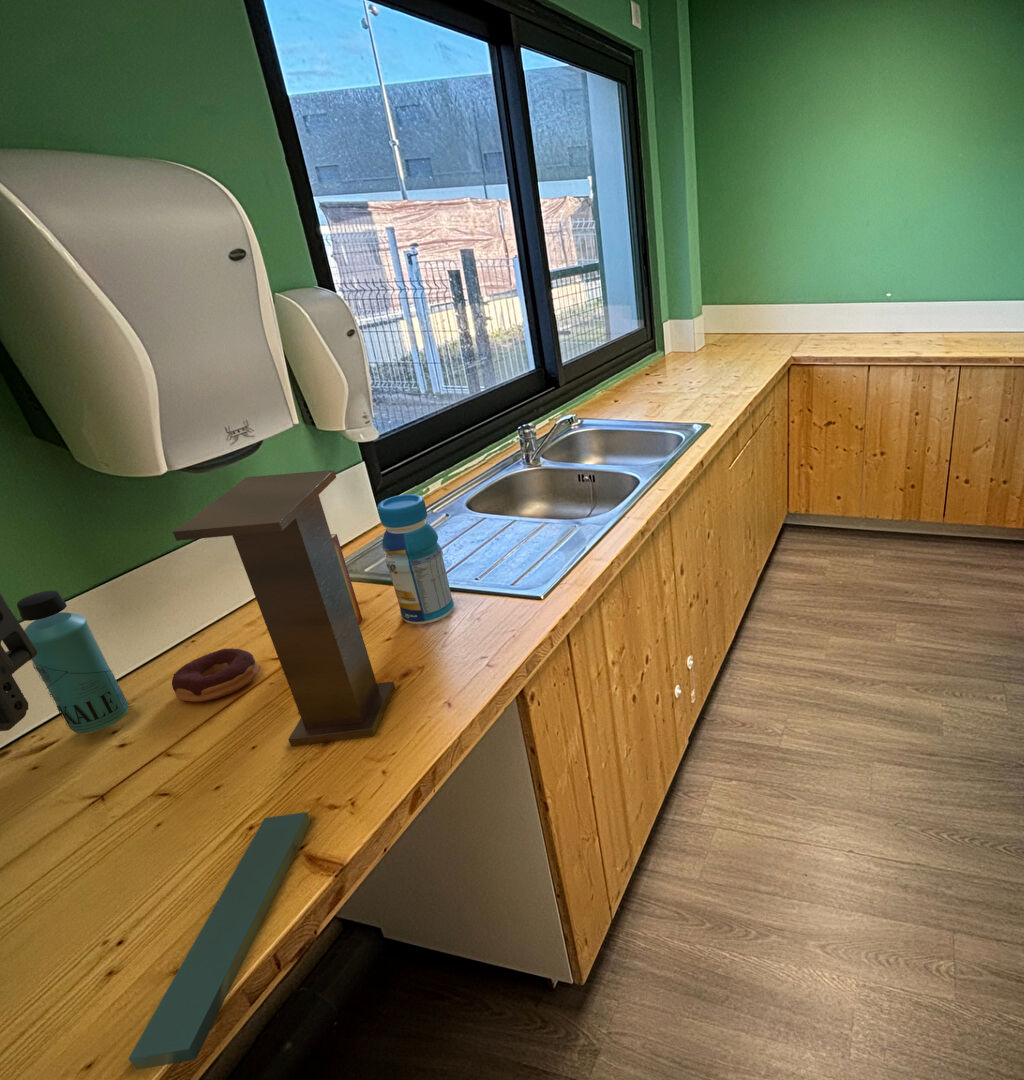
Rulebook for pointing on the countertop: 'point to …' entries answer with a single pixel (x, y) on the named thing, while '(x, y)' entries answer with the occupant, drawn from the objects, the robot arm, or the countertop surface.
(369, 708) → the stand
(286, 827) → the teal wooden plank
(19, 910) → the countertop surface
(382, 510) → the beverage bottle
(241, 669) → the donut
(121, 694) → the beverage bottle
